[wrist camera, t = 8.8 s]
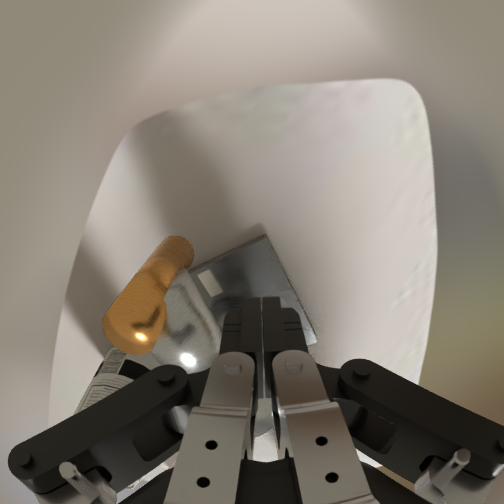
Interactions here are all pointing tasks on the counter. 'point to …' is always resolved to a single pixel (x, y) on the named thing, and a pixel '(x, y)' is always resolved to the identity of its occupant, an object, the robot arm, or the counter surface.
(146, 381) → the robot arm
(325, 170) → the counter surface
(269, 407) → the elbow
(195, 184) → the counter surface
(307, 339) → the grey stand with base
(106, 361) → the supplement can
